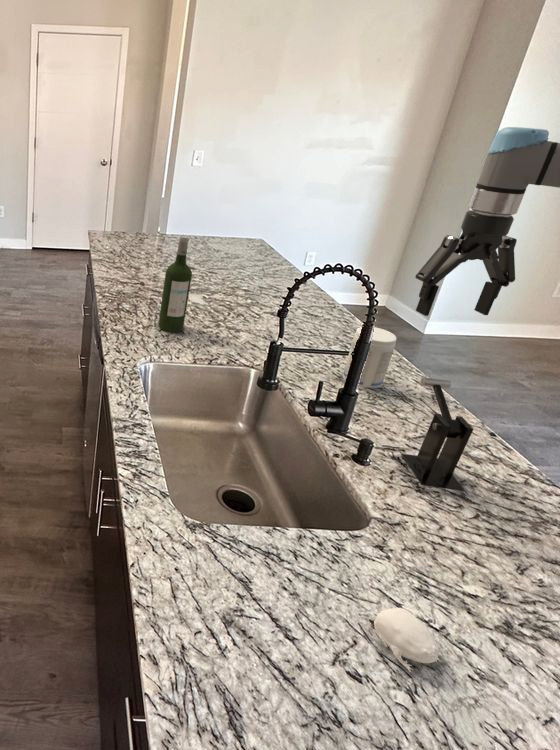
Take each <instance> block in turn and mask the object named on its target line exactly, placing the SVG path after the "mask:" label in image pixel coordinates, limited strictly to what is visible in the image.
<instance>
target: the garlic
mask: <svg viewBox="0 0 560 750" xmlns="http://www.w3.org/2000/svg"><path fill="white" fill-rule="evenodd" d="M373 626H374V631H375V633H376V634H377V636H378V637H379V639H380V640H381V641H382V642H383V644H384V646H385V647H386V648H389V649H390V651H392V653H393V656H394V657H395V659H396V660H397V661H398V662H399V663H400V664H401V665H402V666H403V667H404V668H406V669H407V671H408V672H409V673H412V671H414V668H412V666H413V665H412V664H409V663H408V660H411V661H414V662H417V663H422V664H432V663H435V662H436V663H438V661H439V662H440V663H442V660H441V659H439V651H440V650H439V649H440V647H439V644H438V643H437V642H436V639H435V637H434V635H433V633H432V632H431V631H430V629H429V628H428V627H426V626H425V624H424V623H423V622H422V621H421V620H420V619H419V618H417V617H416V616H415V615H413V614H412V612H409V610H406V609H404V608H402V607H391V608H386V609H384V610H383V611H380V612H379V613H378V614H376V617H375V620H374V622H373ZM402 657H403V658H405V659H408V660H404V659H403V658H402ZM411 670H412V671H411Z"/></svg>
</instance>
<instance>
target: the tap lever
mask: <svg viewBox="0 0 560 750" xmlns="http://www.w3.org/2000/svg"><path fill="white" fill-rule="evenodd" d="M420 385H421V386H422V387H429V388H432V390H433V393H434V396H435V398H436V402H437V404H438V408H439V411H440V414H441V415H442V417H443V418H444V419H445V420H446V421H447V423H448V424H449V425H450V426H451V427H450V429H449V432H448V434H447V436H446V438H447V437H449V438H456V437H457V436H459V435H460V434H461V433H462V431H461V428H460V425H459V423H458V420H455V419H453V418H452V415H451V412H450V409H449V406H448V403H447V401H446V397H445V394H444V392H443V389H448V390H449V389H450V388H451V386H452V382H451V380H449V379H441V378H432V377H421V378H420Z"/></svg>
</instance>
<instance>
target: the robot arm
mask: <svg viewBox="0 0 560 750" xmlns="http://www.w3.org/2000/svg"><path fill="white" fill-rule="evenodd" d="M549 135H550V132H549V131H548V130H547V129H543V128H533V127H517V126H507V127H503V128H501V129H499V130H497V132H496V134H495V136H494V137H493V141H492V143H491V145H490V148H489V150H488V151H487V155H486V157H485V160H484V163H483V166H482V169H481V172H480V175H479V177H478V181H477V183H476V186H475V188H474V191H473V194H472V196H471V199H470V202H469V204H468V208H469V210H468V211H466V212H465V215H464V218H463V220H462V223H461V226H460V228H461V234H460V236H459V237H455V236H452V235H449V234H446V235H445V236H444V237H443V240H442V242H441V244H440V245H439V247H438V248H437V249H436V250H435V252H433V254H432V255H431V256H430V258H429V259H428V260H427V261H426V262H425V264H424V265H422V267H421V268H420V269H419V271H418V272H417V273H416V274H415V277H414V278H415V279H416V280H418V281H420V282H422V285H421V288H420V290H419V294H418V297H419V300H418V303H417V305H416V308H415V311H416V312H417V313H419V314H421V315H423V316H425V317H428V316H430V313H431V310H432V307H433V304H434V302H435V299H436V296H437V294H438V291H439V288H440V285H437V284H438V283H440V281H442V280H443V279H445V278H446V277H447V276H448V275H449V274H450V273H451V272H452V271H454V270H455V269H457V267H458V266H460V265H461V264H463V263H466V262H468V261H475V260H479V261H482V263H483V265H484V268H485V270H486V273H487V275H488V278H489V280H490V281H485V283H484V285H483V287H482V289H481V292H480V295H479V297H478V300H477V303H476V304H475V307H474V309H473V311H475V312H477V313H480V314H481V315H483V316H489V313H490V311H491V309H492V306H493V304H494V302H495V300H496V299H498V297H499V294H500V292H501V289H502V287H505V288H507V287H508V286H509V285H510V283H514V282H515V281H516V265H515V264H516V261H515V247H516V245H517V241H518V240H517V238H514V237H511V236H509V235H508V234H509V232H510V230H511V227H512V225H513V222H514V221H515V218H514V215H516V214H517V213H518V211H519V209H520V206H521V203H522V201H523V198H524V196H525V193H526V191H527V188H528V186H529V185H534V186H543V187H544V186H545V187H552V188H559V189H560V142H556V141H551V140H549Z"/></svg>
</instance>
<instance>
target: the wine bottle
mask: <svg viewBox="0 0 560 750" xmlns="http://www.w3.org/2000/svg"><path fill="white" fill-rule="evenodd" d="M189 240H190V238H189V236H188V235H180V236H179V239H178V244H177V245H178V246H177V251H176V256H175V261H174V262H172V263H171V264H170V265H169V266H168V267H167V268H166V269H165V275H164V281H163V289H162V296H161V304H160V310H159V318H158V327H159V329H161V330H162V331H165V332H169V333H178V332H179V333H180V332H181V331H182V330H183V329H184V324H185V319H186V312H187V306H188V302H189V295H190V294H189V293H190V289H191V283H192V278H193V277H192V276H193V273H192V269H191V267H190V266H189V265H188V264H187V256H188V255H187V254H188V247H189Z"/></svg>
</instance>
